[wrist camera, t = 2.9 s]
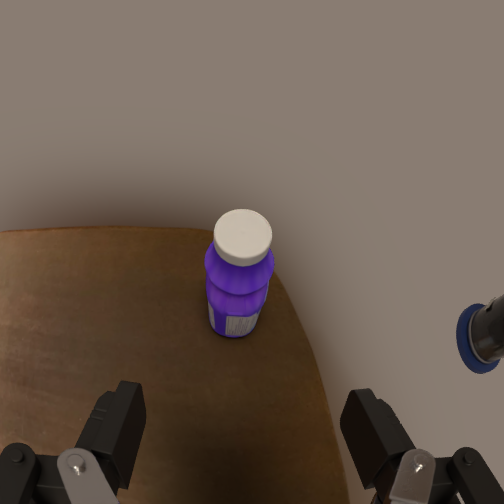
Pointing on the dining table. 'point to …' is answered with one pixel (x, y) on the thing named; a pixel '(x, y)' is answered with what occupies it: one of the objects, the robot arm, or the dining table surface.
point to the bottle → (238, 271)
